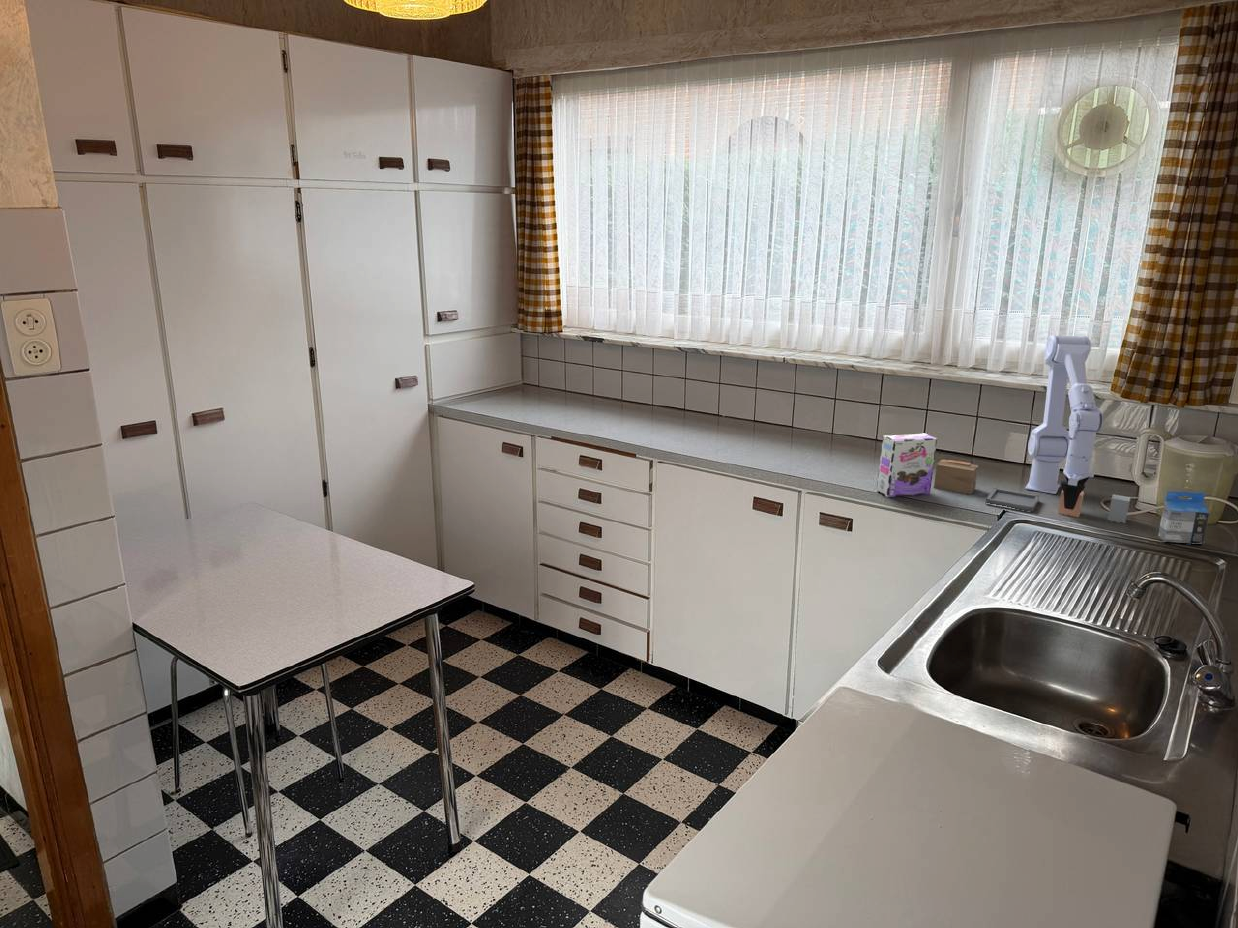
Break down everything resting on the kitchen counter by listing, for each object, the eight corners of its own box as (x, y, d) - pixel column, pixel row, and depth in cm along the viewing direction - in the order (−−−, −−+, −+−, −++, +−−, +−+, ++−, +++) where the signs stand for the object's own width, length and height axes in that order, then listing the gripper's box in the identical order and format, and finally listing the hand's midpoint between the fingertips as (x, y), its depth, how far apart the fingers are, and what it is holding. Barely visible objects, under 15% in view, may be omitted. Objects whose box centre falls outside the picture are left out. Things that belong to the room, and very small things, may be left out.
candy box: (887, 498, 239) (893, 440, 235) (875, 491, 245) (881, 434, 240) (930, 494, 243) (938, 437, 238) (918, 488, 248) (925, 432, 244)
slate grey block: (1108, 515, 229) (1112, 494, 227) (1126, 519, 227) (1130, 497, 225) (1107, 520, 226) (1111, 498, 224) (1125, 523, 224) (1129, 501, 222)
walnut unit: (939, 482, 254) (942, 458, 252) (975, 488, 249) (978, 463, 247) (933, 487, 249) (937, 463, 247) (970, 494, 244) (974, 469, 242)
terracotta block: (1059, 509, 233) (1063, 488, 231) (1080, 513, 231) (1084, 491, 229) (1057, 513, 230) (1061, 492, 228) (1078, 517, 227) (1082, 495, 226)
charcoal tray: (993, 493, 245) (994, 488, 245) (1038, 501, 239) (1039, 495, 239) (985, 504, 236) (986, 498, 235) (1032, 513, 230) (1033, 507, 229)
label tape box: (1163, 543, 211) (1174, 495, 207) (1156, 537, 214) (1166, 490, 211) (1203, 546, 209) (1214, 497, 206) (1194, 540, 213) (1205, 492, 210)
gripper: (1094, 464, 218) (1084, 515, 222) (1099, 451, 230) (1090, 500, 233) (1063, 459, 221) (1054, 510, 225) (1069, 447, 233) (1061, 495, 237)
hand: (1070, 504), depth 230 cm, fingers open, 7 cm apart
